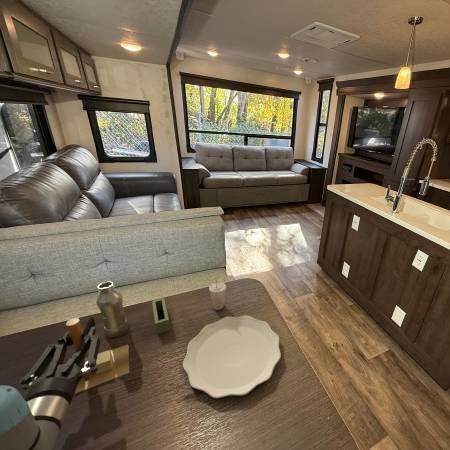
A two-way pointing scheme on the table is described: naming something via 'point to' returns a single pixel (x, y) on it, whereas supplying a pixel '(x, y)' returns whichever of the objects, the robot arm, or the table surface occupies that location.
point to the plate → (232, 356)
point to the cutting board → (118, 369)
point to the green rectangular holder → (157, 306)
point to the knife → (77, 340)
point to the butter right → (104, 361)
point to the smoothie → (218, 294)
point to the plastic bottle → (112, 310)
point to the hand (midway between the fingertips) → (85, 322)
